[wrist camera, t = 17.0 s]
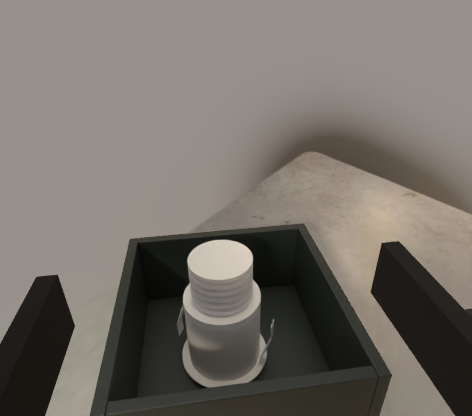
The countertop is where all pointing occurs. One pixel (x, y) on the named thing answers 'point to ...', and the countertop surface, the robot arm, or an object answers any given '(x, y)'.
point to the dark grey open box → (283, 341)
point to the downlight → (222, 316)
